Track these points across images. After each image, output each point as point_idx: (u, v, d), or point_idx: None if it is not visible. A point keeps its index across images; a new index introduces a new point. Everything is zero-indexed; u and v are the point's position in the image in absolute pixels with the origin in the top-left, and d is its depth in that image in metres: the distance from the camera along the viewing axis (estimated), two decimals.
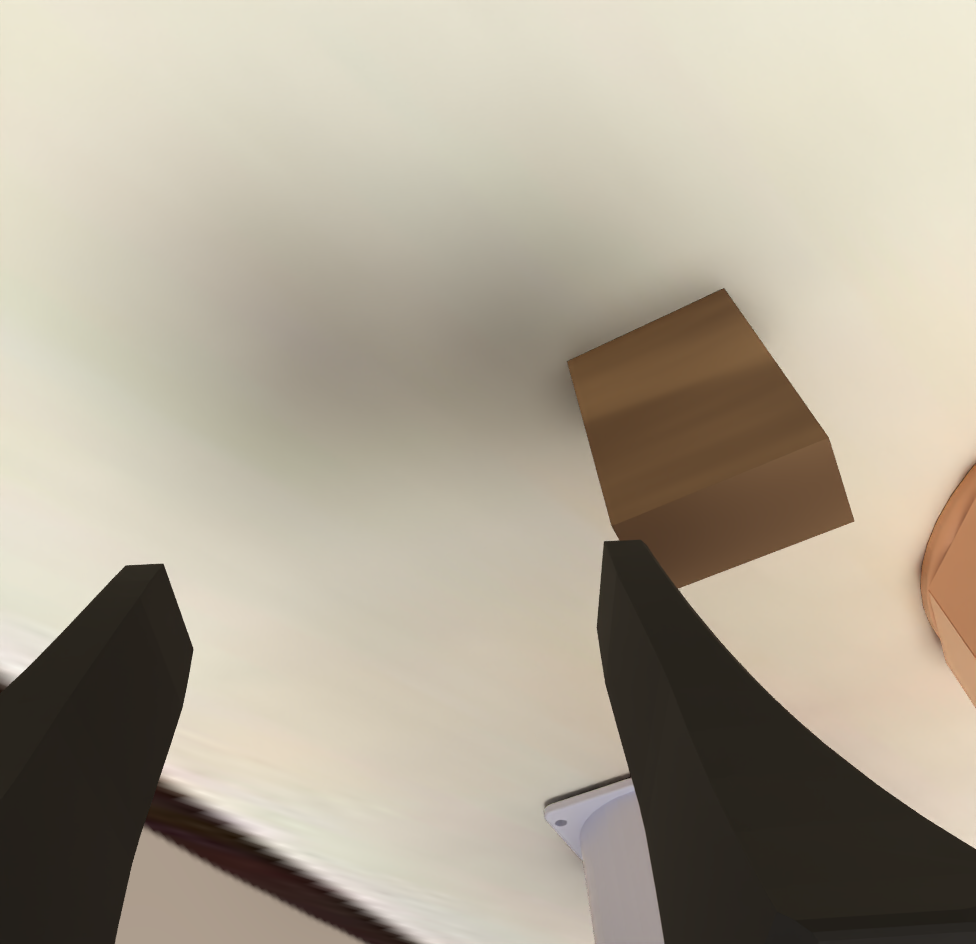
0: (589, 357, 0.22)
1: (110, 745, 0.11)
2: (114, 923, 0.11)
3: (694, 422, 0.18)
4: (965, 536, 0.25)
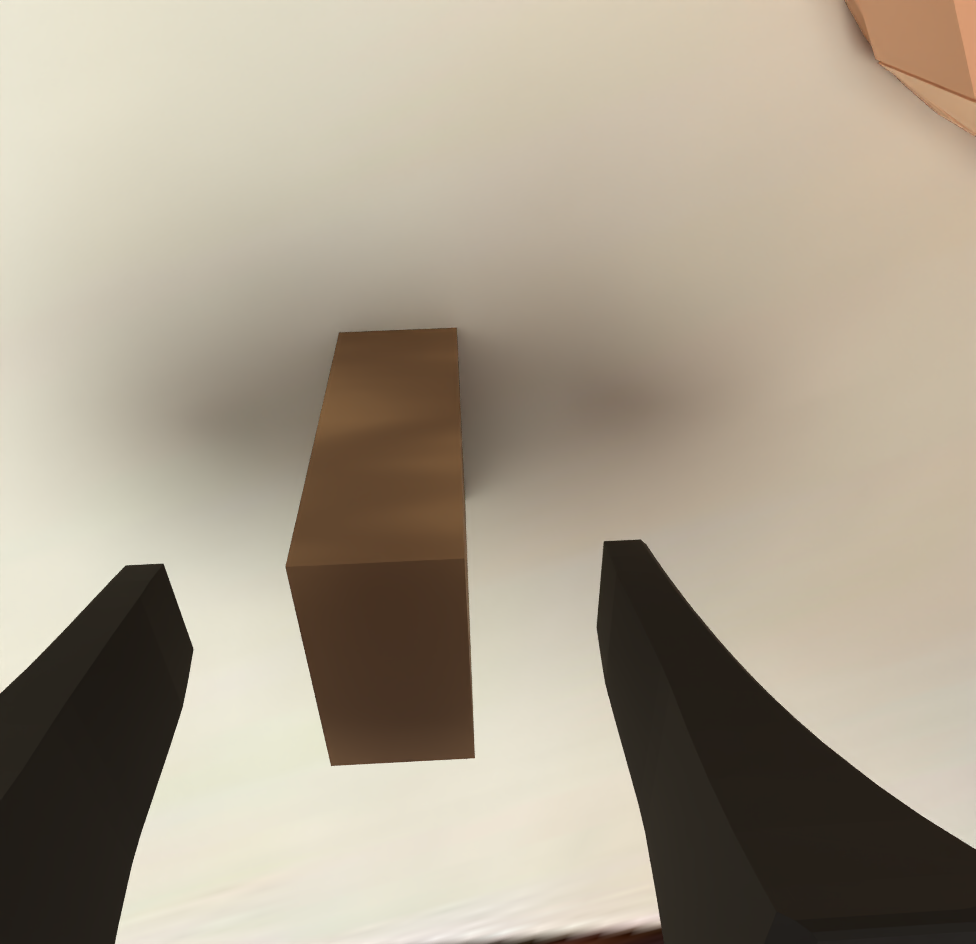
0: None
1: (110, 745, 0.11)
2: (115, 923, 0.11)
3: None
4: (958, 118, 0.13)
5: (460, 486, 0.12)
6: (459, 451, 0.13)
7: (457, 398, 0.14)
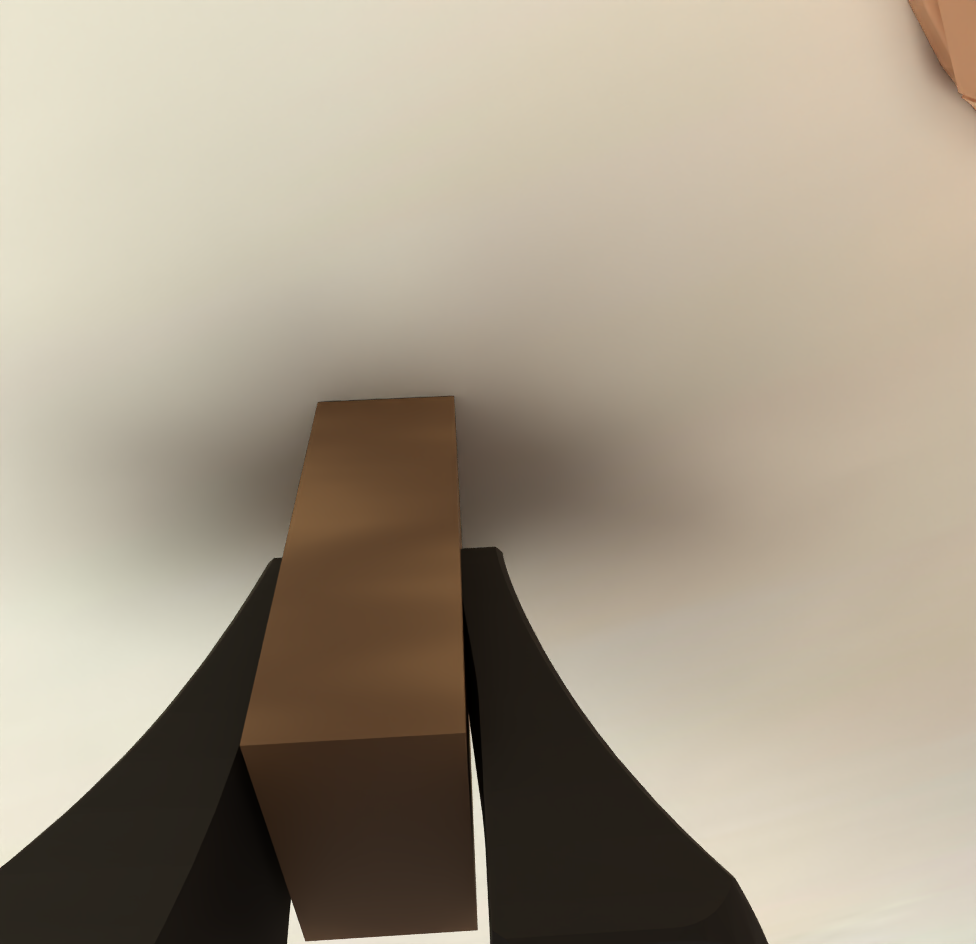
0: None
1: None
2: (286, 912, 0.11)
3: None
4: None
5: (459, 621, 0.10)
6: (458, 569, 0.11)
7: (455, 493, 0.12)
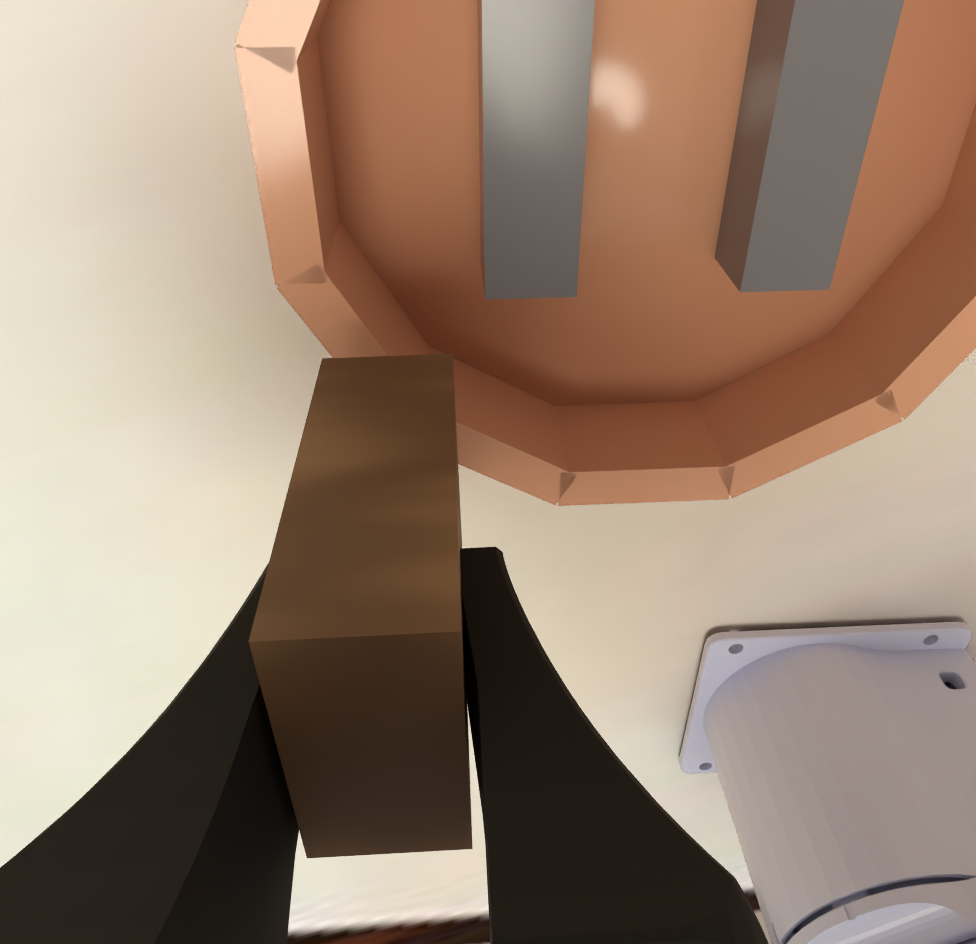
0: None
1: None
2: (286, 913, 0.11)
3: None
4: None
5: (456, 540, 0.11)
6: (455, 497, 0.11)
7: (453, 434, 0.13)
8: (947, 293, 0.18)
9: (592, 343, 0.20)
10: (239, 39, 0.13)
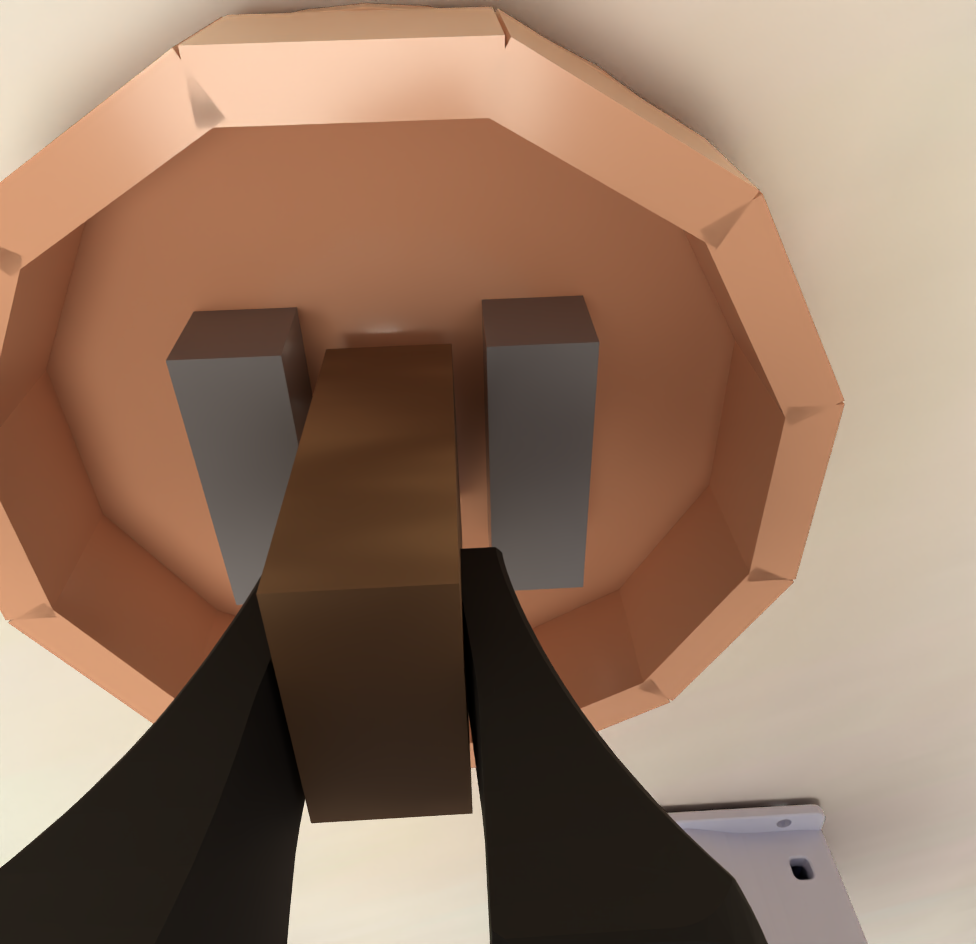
0: None
1: (282, 735, 0.11)
2: (287, 912, 0.11)
3: None
4: None
5: (454, 505, 0.11)
6: (454, 468, 0.12)
7: (452, 414, 0.13)
8: (699, 591, 0.18)
9: None
10: None
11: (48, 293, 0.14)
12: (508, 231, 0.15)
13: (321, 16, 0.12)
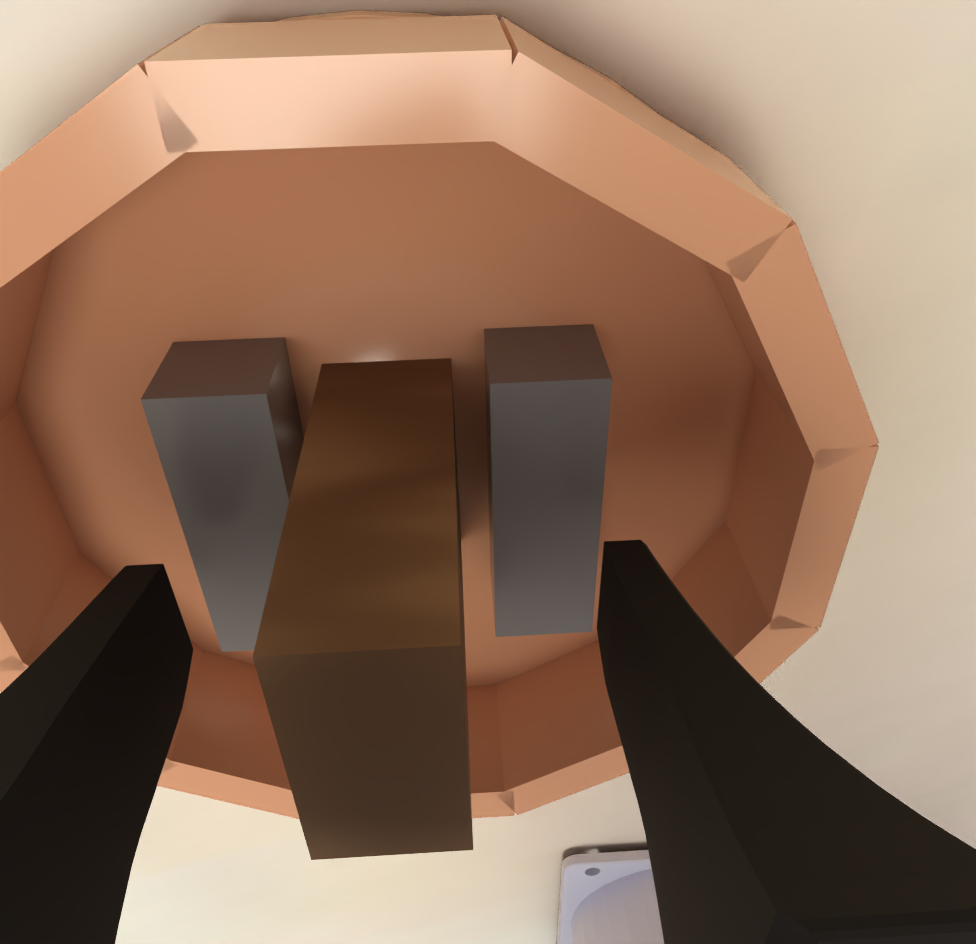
0: None
1: (110, 745, 0.11)
2: (114, 923, 0.11)
3: None
4: None
5: (455, 552, 0.11)
6: (454, 508, 0.11)
7: (452, 442, 0.13)
8: (716, 636, 0.17)
9: None
10: None
11: (12, 326, 0.13)
12: (513, 256, 0.14)
13: (308, 26, 0.11)
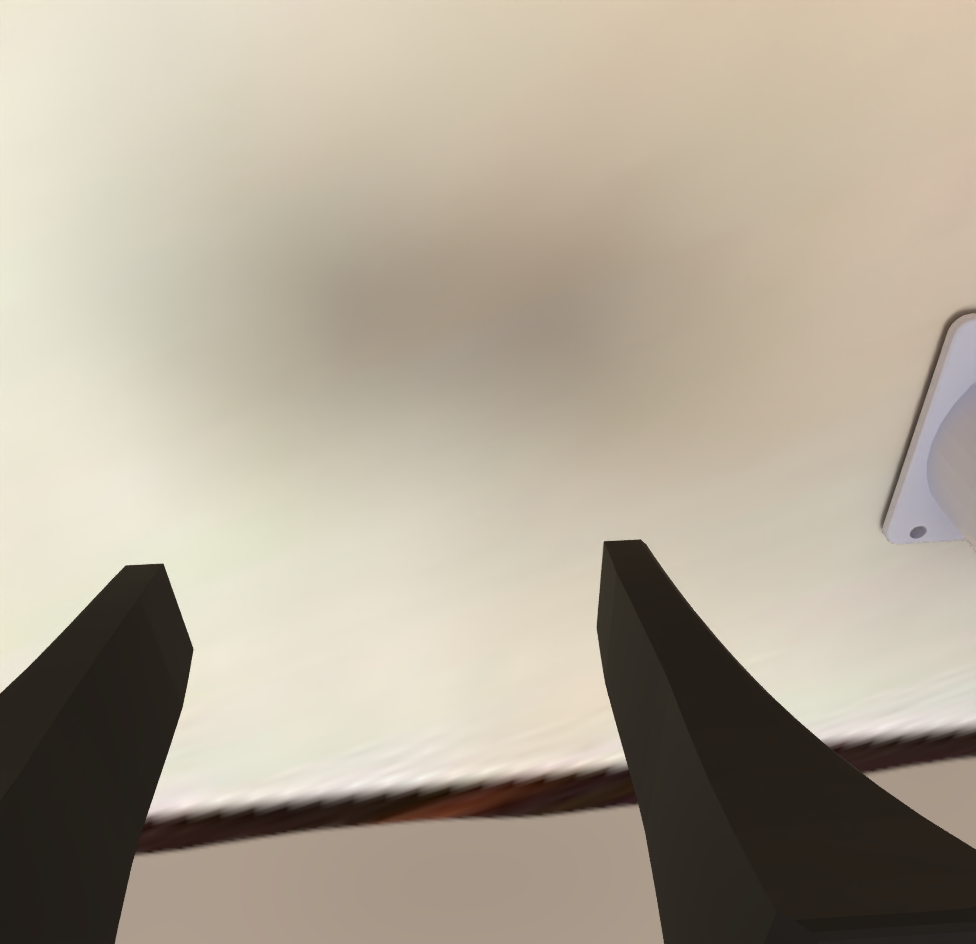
0: None
1: (110, 745, 0.11)
2: (115, 923, 0.11)
3: None
4: None
5: None
6: None
7: None
8: None
9: None
10: None
11: None
12: None
13: None
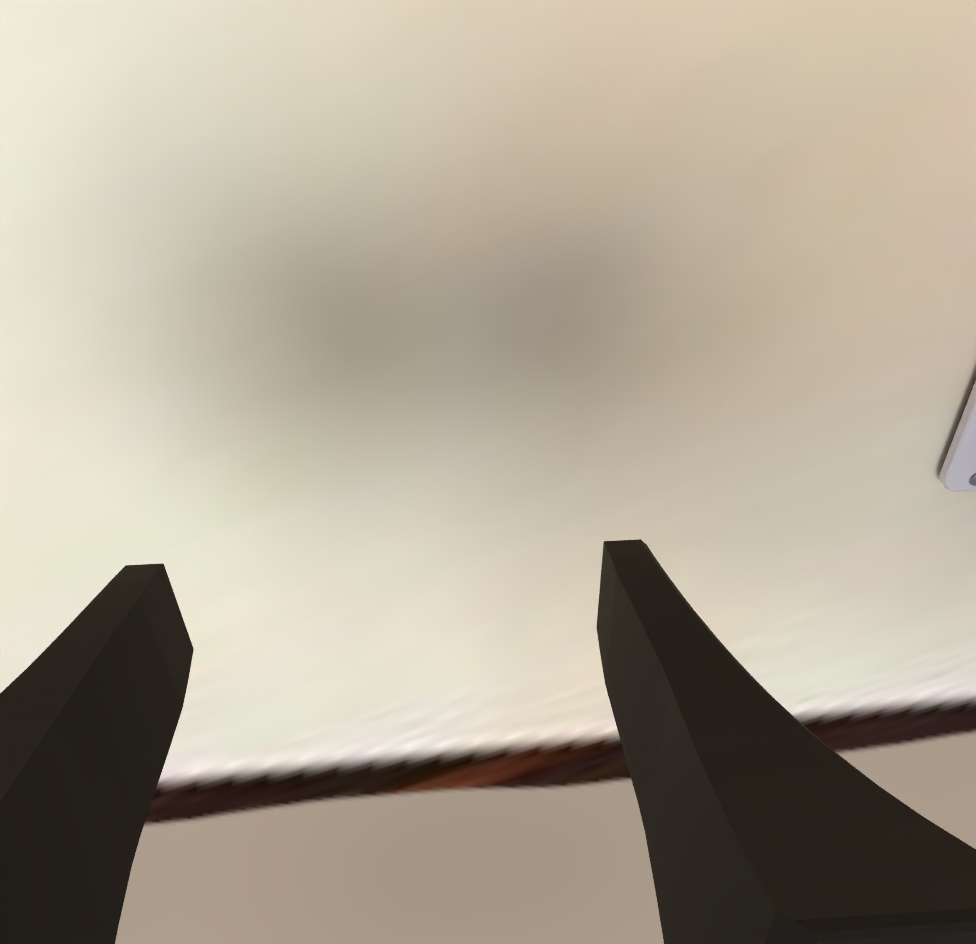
0: None
1: (110, 745, 0.11)
2: (115, 923, 0.11)
3: None
4: None
5: None
6: None
7: None
8: None
9: None
10: None
11: None
12: None
13: None
